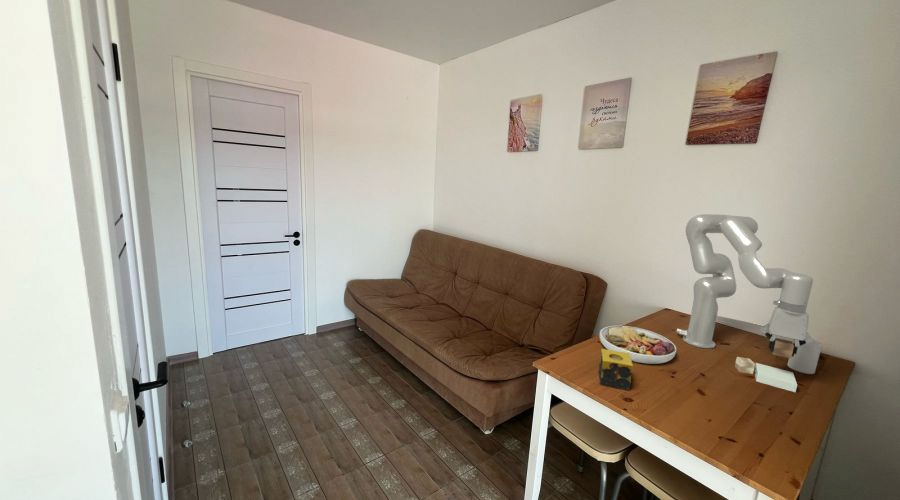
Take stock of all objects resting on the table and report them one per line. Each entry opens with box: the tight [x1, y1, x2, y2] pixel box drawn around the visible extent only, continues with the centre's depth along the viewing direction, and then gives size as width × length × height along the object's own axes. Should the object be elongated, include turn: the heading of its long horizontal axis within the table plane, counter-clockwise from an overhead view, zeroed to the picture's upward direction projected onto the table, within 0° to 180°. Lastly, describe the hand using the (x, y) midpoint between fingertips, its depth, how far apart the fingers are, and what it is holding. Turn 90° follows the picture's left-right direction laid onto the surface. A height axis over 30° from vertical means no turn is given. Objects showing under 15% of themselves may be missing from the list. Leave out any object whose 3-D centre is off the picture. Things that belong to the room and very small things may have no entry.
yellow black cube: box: [598, 348, 634, 391], centre depth 132 cm, size 10×10×10 cm
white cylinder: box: [787, 338, 823, 375], centre depth 146 cm, size 8×8×12 cm
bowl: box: [599, 325, 677, 365], centre depth 158 cm, size 30×30×8 cm
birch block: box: [734, 356, 756, 375], centre depth 144 cm, size 4×4×4 cm
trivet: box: [753, 362, 798, 393], centre depth 137 cm, size 11×11×3 cm
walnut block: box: [771, 337, 794, 359], centre depth 135 cm, size 5×5×5 cm
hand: (781, 352), depth 135 cm, fingers closed on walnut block, 5 cm apart
